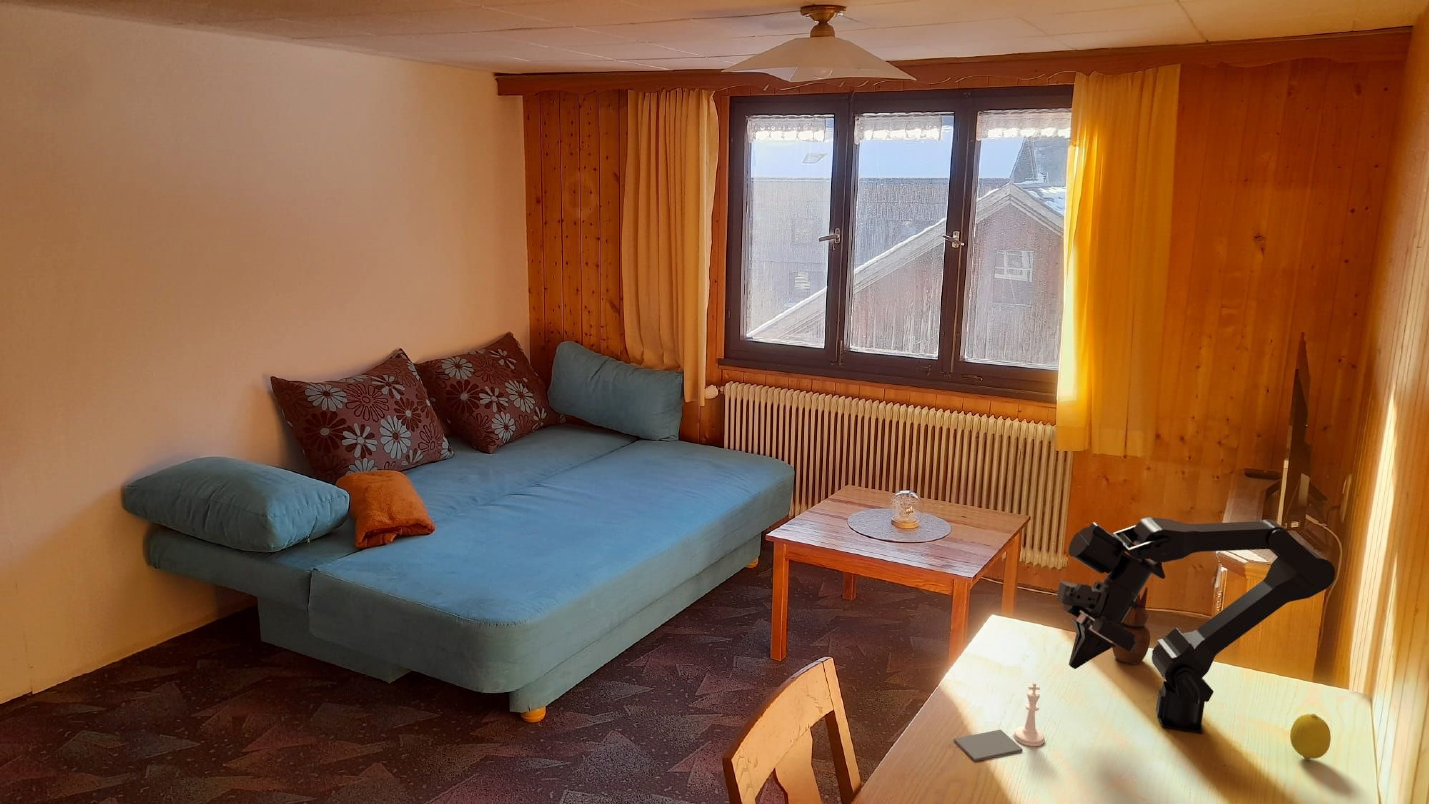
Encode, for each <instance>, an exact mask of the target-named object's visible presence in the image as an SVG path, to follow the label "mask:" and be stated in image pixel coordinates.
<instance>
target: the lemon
mask: <svg viewBox="0 0 1429 804" xmlns="http://www.w3.org/2000/svg"><path fill="white" fill-rule="evenodd" d="M1289 737H1290V743H1291V746H1292V748H1293V749H1294V751H1295V752H1296V753H1297V754H1298V755H1300V756H1302V757H1303V759H1304V760H1306V761H1307V760H1308V761H1309V760H1311V759H1313V760H1314V759H1319V758H1321V757H1323V756H1324V755H1326V754H1327V753H1328V751H1329V748H1330V745H1331V739H1332V736H1331V730H1330V727H1329V725H1328V724H1327V722H1326V721H1325V720H1324V719H1323V718H1321V717H1320V716H1318V715H1317V714H1315V713H1311V714H1310V713H1308V714H1303V715H1300V716H1298V717H1297V718H1296V719H1295V721H1294V722H1293V724H1292V727H1291V729H1290V735H1289Z"/></svg>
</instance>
